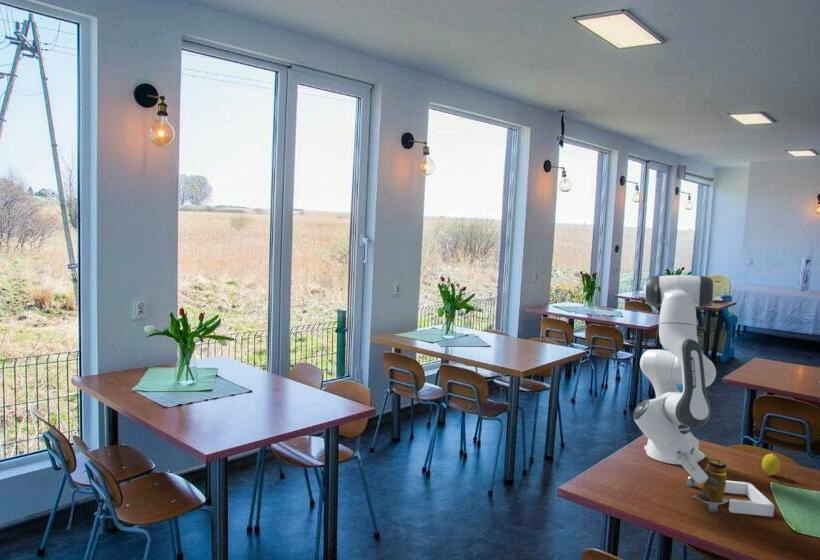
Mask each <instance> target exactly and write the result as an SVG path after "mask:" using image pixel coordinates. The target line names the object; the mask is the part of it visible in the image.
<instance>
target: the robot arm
mask: <svg viewBox="0 0 820 560" xmlns="http://www.w3.org/2000/svg"><path fill="white" fill-rule="evenodd" d="M716 290H717V289H716V286H715V284H714V281H713V279H712V278H711V277H709V276H705V275H699V276H698V275H691V274H690V275H689V274H679V275H678V274H671V275H669V274H668V275H662V276H661V275H657V274H656V275H651V276H649V277H648V278H647V279H646V281H645V283H644V285H643V291H642V292H643V297H644V299H645V302H646V303H648V305H650V306H653V307H655V308H656V309H658V307H660V311H659V318H658V319H659V322H658V336H659V343H660V344H661V345H662V347H663V348H664V349H647V350H646V351H644V352H643V354H642V355H641V357H640V360H639V367H640V371H641V372H642V373H643V375H645V377H646V378H647V379H648V381H650V383H651V385H652V386H653V390H654V393H655V398H652V399H644V400H642V401H641V402H639V403H638V404H637V405H636V407H635V408H634V410H633V420H634V422H635V423H636V425H637V427H638V428H639V430H640V431H641V432H642V433H643V435H644V436H645V437H646V438H647V439H648V440H647V444H646V445H644V448H643V449H644V450H645V452H646V455H647V456H648V457H649V458H651V459H653V460H656V461H658V462H661V463H666V464H672V465H681V466H682V468H684V469H685V470H686V471H687V473H688V474H689V476H692V477H693V478H694V480H695V481H696V484H698V485H701V484H703V483H705V482H706V481H707V479H708V476H707V474H706V473H705V470H704V469H702V467H701V466H700V465H699V464H698V463H699V462H700V461H702V460H703V459H705V458H706V454H705V453H703V452H702V451H700V450H699V449H700V442H699V440H698V438H696V437H695V435H693V433H692V432H691V429H692V428H693V429H698V428H702V427H703V426H705V425H706V424H707V423H708V422H709V420H710V418H711V414H712V409H711V403H710V400H709V397H708V393H707V389H706V388H707V387H710V386H711V385H712V384H713V382H715V379H716V377H717V376H716V375H717V369H716V367H715V364H714V363H713V362H712V360H711V359H709V358H708V357H707V356H706V355H705V354H704V352H703V351H702V348H701V346H700V344H699V341H698V334H697V332H698V331H697V327H698V326H697V309H696V308H697V307H698V308H700V309H702V308H707V307H709V306H710V305H712V304H713V302H714V299H715V297H716ZM676 384H679V385H682V392H681V391H679V389H678V388H677V386H676ZM690 428H691V429H690Z"/></svg>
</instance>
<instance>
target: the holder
mask: <svg viewBox="0 0 820 560" xmlns="http://www.w3.org/2000/svg"><path fill="white" fill-rule="evenodd" d="M725 493H727V494H735V495H745V496H747V497H748V498H749V500H745V499H736V498H729V504H728V511H729V513H734V514H744V515H751V516H752V515H754V516H762V517H772V518H773V517H774V514H775V505H774V503H773V502H771V500H770V499H768V498H767V497H766V496H765V495H764V494H763V493H762V492H760V491H759V489H757V488H756V487H755V485H754V484H752V483H751V482H748V481H747V482H746V481H736V480H735V481H734V480H728V479H726V484H725V492H724V494H725Z"/></svg>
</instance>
